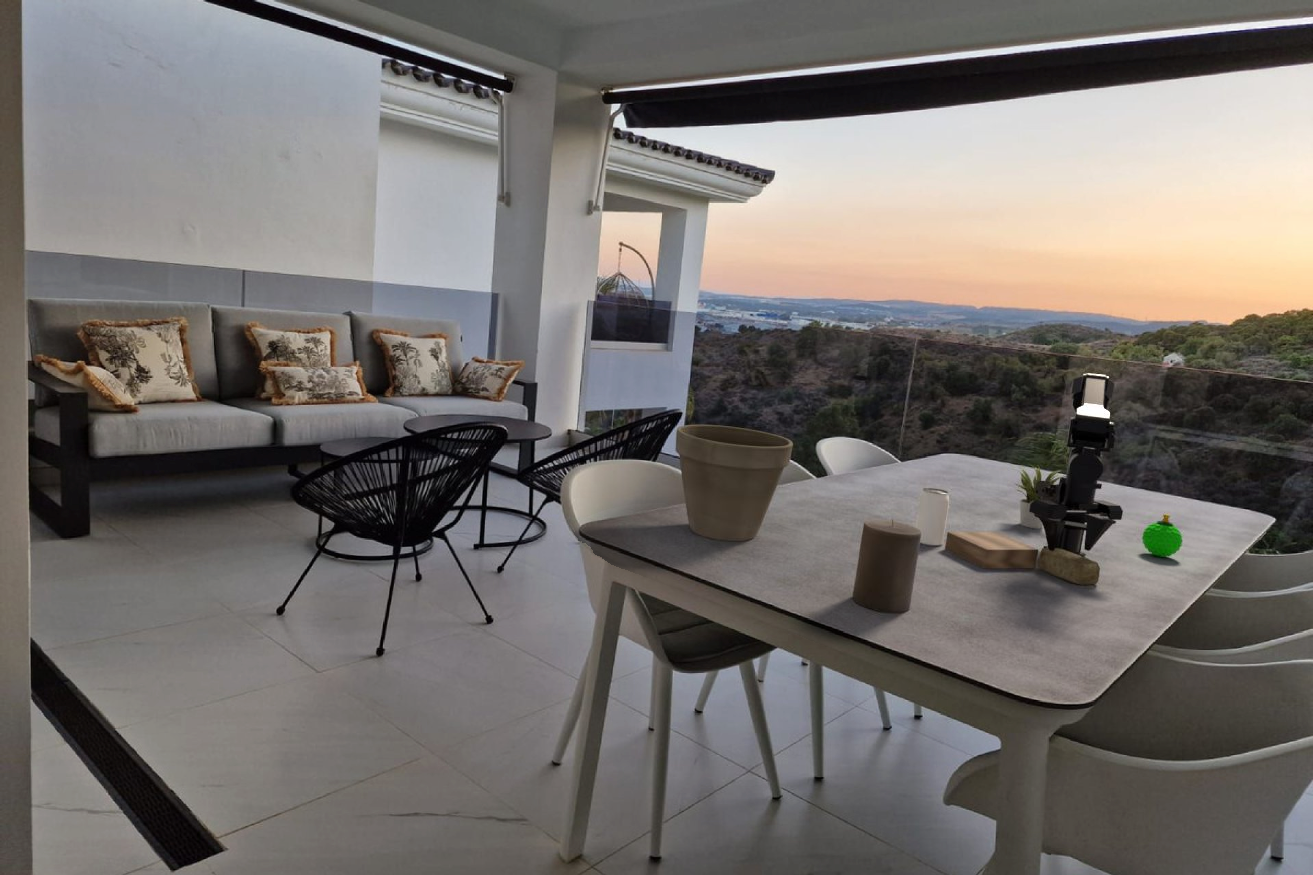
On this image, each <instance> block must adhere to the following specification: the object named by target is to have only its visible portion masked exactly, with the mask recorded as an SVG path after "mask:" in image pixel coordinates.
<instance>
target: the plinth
mask: <svg viewBox="0 0 1313 875" xmlns="http://www.w3.org/2000/svg"><path fill="white" fill-rule="evenodd" d="M944 550H945V551H947V552H950V553H952V555H953V554H954V555H956V556H958V557H960V558H962V559H964V560H966V561H968V562H970V563H973V564H974V565H976V566H979V567H980V568H983V569H1035V568H1036V566H1037V562H1038V554H1039V549H1038V548H1037V547H1034V546H1030V545H1028V544H1026V543H1023V542H1022V541H1018V540H1017V539H1014V538H1011V537H1010V536H1006V535H1004V534H1002V533H999V532H996V531H947V533H946V540H945V547H944Z"/></svg>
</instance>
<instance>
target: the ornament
mask: <svg viewBox="0 0 1313 875" xmlns="http://www.w3.org/2000/svg"><path fill="white" fill-rule="evenodd" d="M1162 516H1163V518H1162V520H1157V522H1152V523H1151V524H1149V525H1147V526H1146V527H1145V529H1144V531H1143V533H1141V534H1142V537H1141V539H1142V544H1143V546H1144V548H1145V549H1147V552H1149V553H1151V554H1152V555H1153V556H1156V555H1157V556H1156V557H1158V556H1161V557H1163V558H1165V557H1171V556H1172V555H1175V554H1176V553H1177V552H1179V551H1180V549H1181V547H1182V546H1183V545H1182V544H1183V541H1184V540H1183V536H1182V534H1181V531H1180V530H1179V529H1178V528H1177V526H1176V525H1174V524H1173V523H1172V522H1170V520H1169V518H1170V517H1171V515H1170V514H1168V513H1167V514H1165V513H1163V515H1162Z"/></svg>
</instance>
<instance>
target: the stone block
mask: <svg viewBox="0 0 1313 875" xmlns="http://www.w3.org/2000/svg"><path fill="white" fill-rule="evenodd" d="M1039 553H1040V554H1039V557H1038V558H1037V562H1036V566H1037V567H1038V568H1039V569H1040V570H1041V571H1043V572H1046V573H1047V574H1051V575H1052V576H1055V577H1057V578H1060V579H1063V580H1065V581H1067V582H1069V583H1072V584H1076V585H1081V586H1082V585H1083V586H1085V585H1087V586H1092V585H1096V584H1098V582H1099V579H1100V572H1101V570H1100V569H1101V568H1100V565H1099V563H1098V562H1097V561H1096V560H1092V559H1090V558H1087V557H1086V556H1080V555H1077V554H1074V553H1071V552H1069V551H1066V550H1063V549H1059V548H1055V549H1054V551H1051V550H1049V549H1048V548H1043V547H1042V548H1041V549H1040V552H1039Z"/></svg>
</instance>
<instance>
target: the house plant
mask: <svg viewBox="0 0 1313 875" xmlns="http://www.w3.org/2000/svg"><path fill="white" fill-rule="evenodd" d="M1037 466H1038V468H1037V467H1034V466H1033V465H1031V467H1032V468H1033V469H1034V471H1035V474H1036V475H1035V476H1034V477H1033V478H1032V479H1033V480H1031V478H1030V476H1029V474H1028V473H1027V472H1026V471H1025V470H1024V469H1023V468H1022V467H1020V466H1018V468H1019V469H1020V470H1021V471H1022V472H1021V471H1019V470H1016V469H1015V471H1017V472H1018V473H1019V474H1020V482H1021V484H1017V483H1014V485H1015V486H1017V487H1018V488H1019V487H1020V488H1021V489H1022V490H1024V491H1025V492H1026V493H1024V492H1023V491H1022V490H1020V489H1016V490H1015V492H1021V493H1022V495H1024V496H1025V498H1021V499H1020V501H1019V502H1020V503H1019V505H1020V506H1019V508H1020V521H1019V523H1020V525H1021V526H1023V527H1026V528H1031V529H1039V530H1040V529H1042V528H1044V527H1043V524H1042V522H1041V521H1040V519H1039V518H1038V517H1035V516H1034V513H1031V512H1029V509H1030V503H1031V502H1032V501H1033V500H1034V499H1042V498H1041V497H1040V496H1036V494H1035V487H1036V483H1037V481H1042V472H1041V468H1040V466H1039V465H1037ZM1059 472H1061V470H1055V471H1053V472H1051V473H1049V474H1048V475H1047V477H1046V478H1045V480H1044V481H1049V483H1050V485H1055V483H1056V482H1057V481H1059V480H1060V479H1061V477H1066V475H1064V476H1059V477H1058V475H1057V474H1058V473H1059Z"/></svg>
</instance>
